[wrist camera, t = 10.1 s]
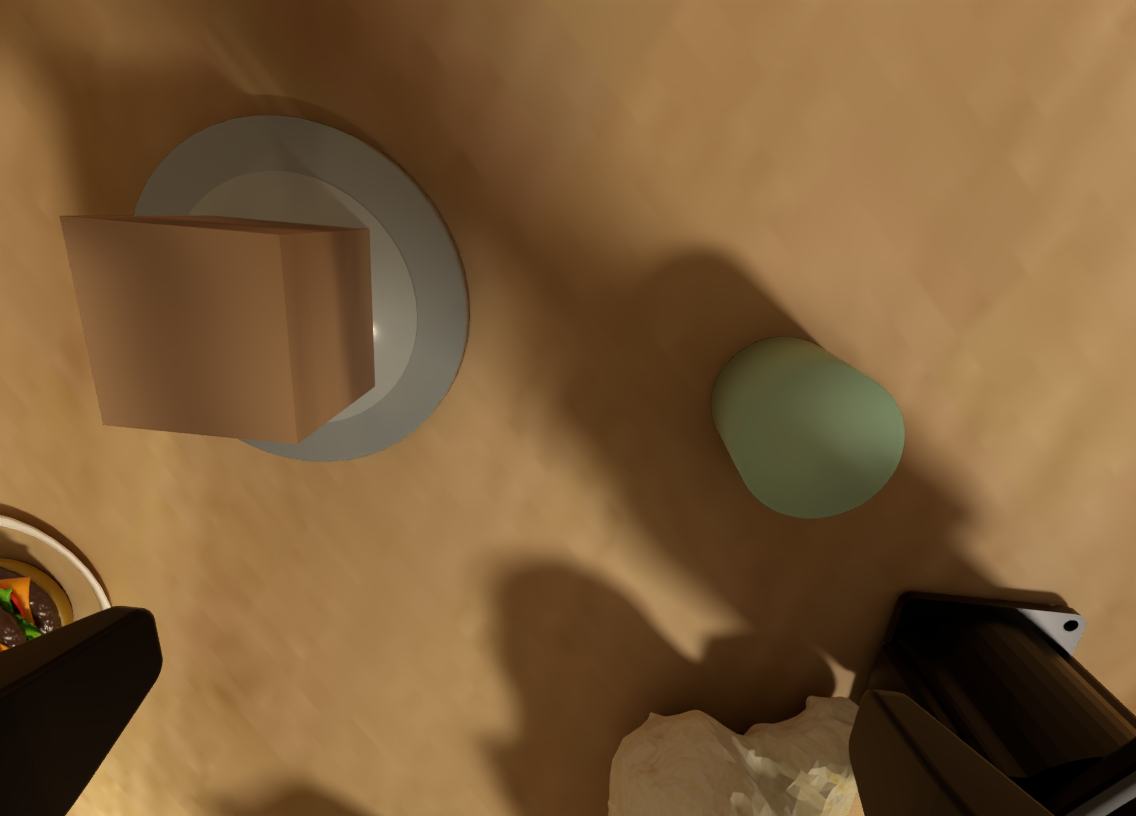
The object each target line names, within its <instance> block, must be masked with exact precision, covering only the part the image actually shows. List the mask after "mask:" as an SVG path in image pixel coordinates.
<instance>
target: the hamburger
mask: <svg viewBox="0 0 1136 816" xmlns="http://www.w3.org/2000/svg"><path fill="white" fill-rule="evenodd" d="M0 526H3V527H7V528H11V529H15V530H19V531H22V532H24V533H27V534H29V535H31V536H34V537H36V538H38V539H40V540H42V541H43V542H45V543H47V544H48V545H50V546H52V547H53V548H55V549H56V550H57V551H59V552H60V553H61V554H63V555H64V556H65V557H66V558H68V559H69V560H70V561H71V562H72V563H73V564H74V565H75V566H76V567H77V568H78V569H79V570H80V572H81V573H82V574H83V575H84V577H85V578H86V580H87V581H88V582H89V584H90V585H91V587H92V589H93V591H94V593H95V595H96V597H97V599H98V601H99V605H100V608H101V611H102V610H105V609H107V608H110V607H111V606H110V604H109V601H108V599H107V597H106V595H105V593H104V591H103V589H102V587H101V586H100V584H99V583H98V582H97V580H96V579H95V578H94V576H93V575H92V573H91V572H90V571H89V569H88V568H87V567H86V566H85V565H84V564H83V563H82V562H81V561H80V560H79V559H78V558H77V557H76V556H75V555H74V554H73V553H72V552H71V551H69V550H68V549H67V548H65V547H64V546H63V545H62V544H60V543H59V542H58V541H56V540H55V539H54V538H52V537H50V536H49V535H47V534H45V533H43V532H42V531H40V530H38V529H37V528H35V527H33V526H31V525H28V524H26V523H23V522H21V521H18V520H16V519H13V518H11V517H7V516H3V515H0ZM70 623H73V611H72V607H71V604H70V602H69V600H68V598H67V596H66V595H65V593H64V591H63V590H62V589H61V588H60V587H59V585H58V584H57V583H56V582H55V581H54V580H53V579H51V578H50V577H49V576H48V575H47V574H45V573H44V572H42V571H41V570H39V569H37V568H35V567H33V566H31V565H29V564H27V563H24V562H21V561H18V560H12V559H2V558H0V652H1V651H3V650H6V649H8V648H11V647H13V646H16V645H18V644H21V643H23V642H25V641H28V640H30V639H33V638H35V637H38V636H40V635H43V634H45V633H48V632H50V631H53V630H55V629H58V628H60V627H63V626H65V625H68V624H70Z"/></svg>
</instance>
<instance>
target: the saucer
mask: <svg viewBox="0 0 1136 816" xmlns="http://www.w3.org/2000/svg"><path fill="white" fill-rule="evenodd" d="M200 215H209V216H221V217H233V218H244V219H256V220H268V221H279V222H291V223H303V224H314V225H326V226H337V227H349V228H361V229H370V257H371V284H372V312H373V340H374V367H375V387H374V388H372V389H371V390H370V391H368V392H367V393H366V394H364V395H363V396H362V397H360V398H359V399H358V400H356V401H355V402H354V403H352V404H351V405H350V406H348V407H347V408H346V409H344V410H343V411H342V412H340V413H339V414H338V415H336V416H335V417H333V418H332V419H331V420H329V421H328V422H327V423H325V424H324V425H323V426H321V427H320V428H319V429H317V430H316V431H315V432H313V433H312V434H311V435H309V436H308V437H307V438H305V439H304V440H303V441H301V442H300V443H299V444H289V443H279V442H269V441H259V440H249V439H239V438H238V439H239V440H241V441H243V442H245V443H247V444H249V445H251V446H254V447H256V448H259V449H261V450H264V451H266V452H269V453H272V454H276V455H280V456H283V457H287V458H292V459H298V460H304V461H318V462H332V461H344V460H351V459H355V458H360V457H364V456H368V455H370V454H373V453H376V452H378V451H381V450H384V449H386V448H388V447H390V446H391V445H393V444H395V443H397V442H399V441H401V440H402V439H403V438H405V437H406V436H407V435H409V434H410V433H412V432H413V431H414V430H416V429H417V428H418V427H419V426H420V425H421V424H422V423H423V422H424V421H425V420H426V419H427V418H428V417H429V416H430V415H431V414H432V412H433V411H434V410H435V409H436V408H437V406H438V405H439V404H440V402H441V401H442V400H443V398H444V397H445V396H446V394H447V393H448V391H449V390H450V388H451V386H452V384H453V382H454V380H455V378H456V377H457V374H458V372H459V369H460V366H461V363H462V361H463V358H464V354H465V350H466V345H467V341H468V334H469V322H470V305H469V291H468V286H467V280H466V274H465V270H464V267H463V263H462V260H461V257H460V254H459V250H458V248H457V245H456V243H455V241H454V239H453V236H452V234H451V232H450V230H449V227H448V226H447V224H446V222H445V221H444V219H443V217H442V216H441V214H440V212H439V211H438V209H437V207H436V206H435V204H434V203H433V202H432V201H431V199H430V198H429V197H428V195H427V194H426V193H425V191H424V190H423V189H422V188H421V186H420V185H419V184H418V183H417V182H416V181H415V180H414V179H413V178H412V177H411V176H410V175H409V174H408V173H407V172H406V171H405V170H404V169H403V168H402V167H401V166H399V165H398V164H397V163H396V162H394V161H393V160H392V159H391V158H389V157H388V156H387V155H386V154H384V153H383V152H381V151H380V150H378V149H376V148H375V147H373V146H371V145H370V144H368V143H367V142H365V141H363V140H361V139H359V138H357V137H355V136H352V135H350V134H348V133H346V132H344V131H341V130H339V129H336V128H332V127H329V126H326V125H323V124H319V123H316V122H312V121H309V120H306V119H301V118H295V117H288V116H281V115H253V116H247V117H240V118H234V119H230V120H227V121H224V122H220V123H217V124H214V125H211V126H209V127H207V128H205V129H203V130H201V131H199V132H197V133H196V134H194V135H192V136H190V137H189V138H187V139H186V140H185V141H183V142H182V143H181V144H179V145H178V146H177V147H175V148H174V149H173V150H172V151H171V152H170V153H169V154H168V155H167V156H166V157H165V158H164V159H163V161H162V162H161V163H160V164H159V165H158V166H157V168H156V169H155V170H154V172H153V173H152V175H151V176H150V178H149V179H148V181H147V182H146V184H145V186H144V188H143V191H142V193H141V195H140V197H139V199H138V201H137V204H136V207H135V211H134V214H133V216H200Z"/></svg>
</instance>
